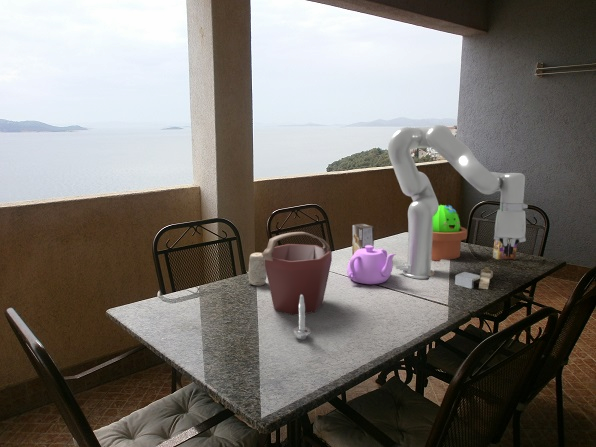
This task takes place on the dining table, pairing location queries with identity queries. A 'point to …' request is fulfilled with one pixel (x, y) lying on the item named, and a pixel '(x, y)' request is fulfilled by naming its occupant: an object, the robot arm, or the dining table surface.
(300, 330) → the screw
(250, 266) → the carving
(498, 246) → the candy box
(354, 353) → the dining table surface
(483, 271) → the oak link
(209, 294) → the dining table surface
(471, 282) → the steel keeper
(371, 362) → the dining table surface
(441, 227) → the potted cactus
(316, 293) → the bucket
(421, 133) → the robot arm
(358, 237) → the coffee box
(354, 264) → the teapot
